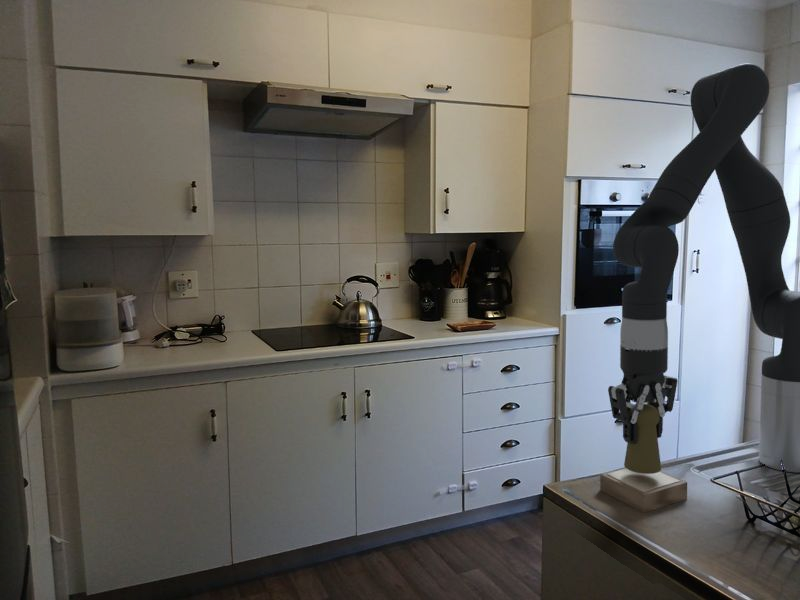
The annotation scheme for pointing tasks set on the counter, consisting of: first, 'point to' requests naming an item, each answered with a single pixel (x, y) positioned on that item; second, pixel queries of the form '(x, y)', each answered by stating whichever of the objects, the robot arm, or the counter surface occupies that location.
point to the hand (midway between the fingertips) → (642, 439)
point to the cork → (645, 443)
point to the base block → (643, 488)
